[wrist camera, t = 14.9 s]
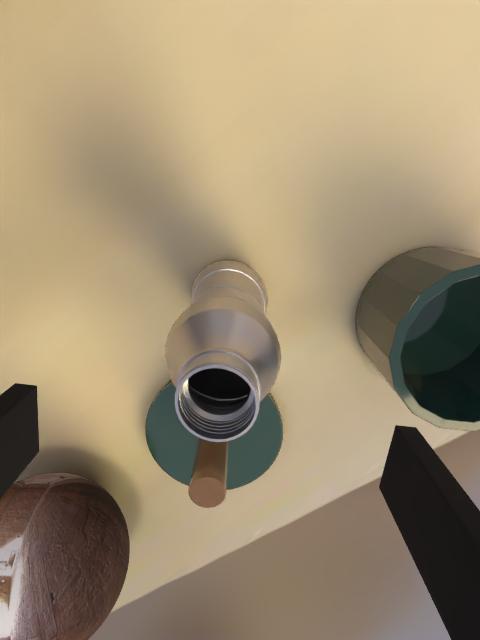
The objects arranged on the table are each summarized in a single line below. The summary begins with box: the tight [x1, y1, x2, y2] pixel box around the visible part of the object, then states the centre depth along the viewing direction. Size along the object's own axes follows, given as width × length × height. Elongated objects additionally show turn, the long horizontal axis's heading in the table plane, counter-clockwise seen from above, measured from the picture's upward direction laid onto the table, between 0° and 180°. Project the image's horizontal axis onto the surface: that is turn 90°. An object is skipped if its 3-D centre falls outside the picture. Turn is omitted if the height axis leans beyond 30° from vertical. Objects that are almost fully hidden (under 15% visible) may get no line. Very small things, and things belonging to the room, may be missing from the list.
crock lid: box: [146, 382, 283, 508], centre depth 35 cm, size 14×14×9 cm
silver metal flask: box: [165, 260, 281, 442], centre depth 26 cm, size 6×7×20 cm
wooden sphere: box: [0, 473, 129, 640], centre depth 35 cm, size 15×15×15 cm
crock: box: [356, 247, 480, 431], centre depth 32 cm, size 13×13×9 cm
